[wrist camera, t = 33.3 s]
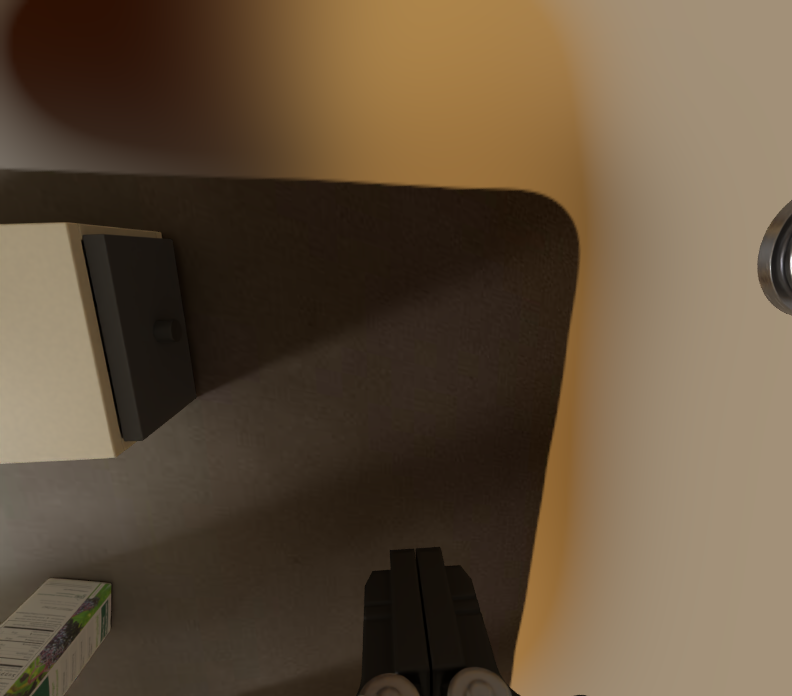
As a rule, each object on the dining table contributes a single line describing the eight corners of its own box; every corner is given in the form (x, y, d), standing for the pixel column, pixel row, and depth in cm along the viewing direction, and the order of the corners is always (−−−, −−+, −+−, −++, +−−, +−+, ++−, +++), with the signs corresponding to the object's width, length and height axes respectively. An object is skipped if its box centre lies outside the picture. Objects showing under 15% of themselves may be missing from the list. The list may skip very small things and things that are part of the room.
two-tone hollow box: (188, 238, 30) (125, 233, 23) (211, 397, 33) (162, 440, 25) (-87, 247, 30) (-250, 244, 22) (-39, 408, 32) (-168, 457, 25)
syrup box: (113, 630, 39) (-37, 845, 25) (48, 625, 38) (-142, 841, 24) (113, 581, 38) (-44, 777, 24) (46, 575, 37) (-155, 771, 23)
